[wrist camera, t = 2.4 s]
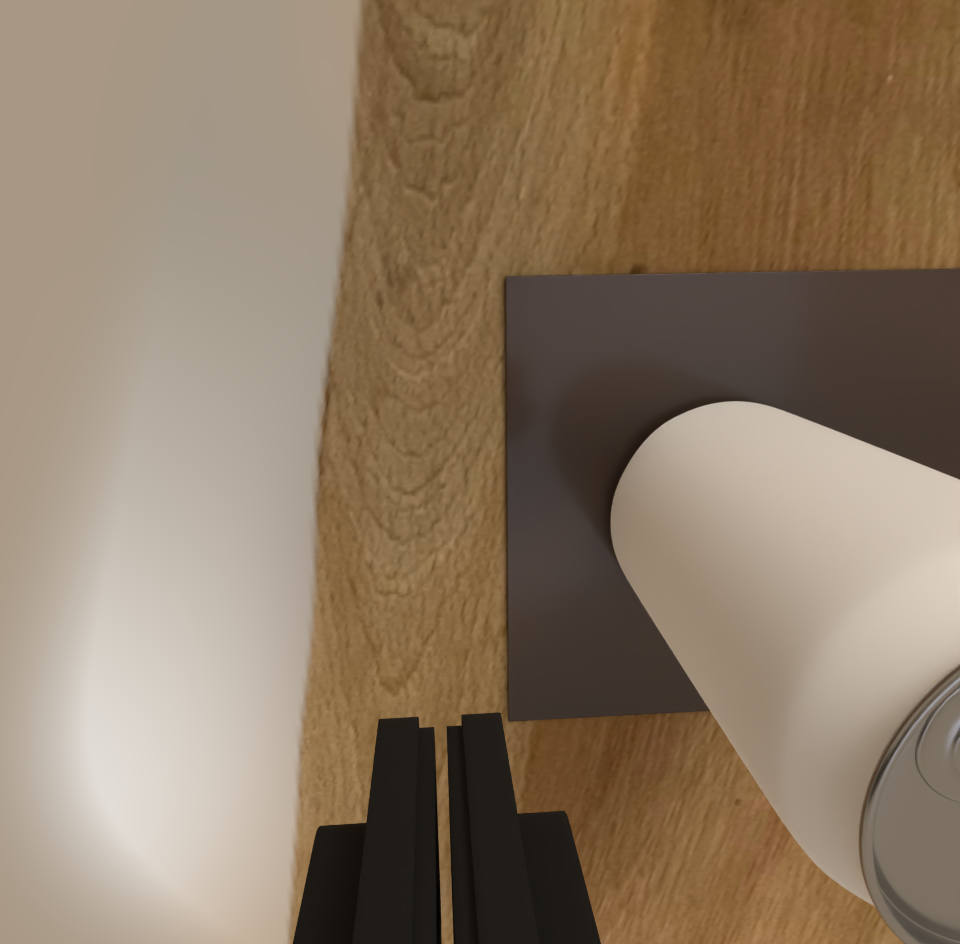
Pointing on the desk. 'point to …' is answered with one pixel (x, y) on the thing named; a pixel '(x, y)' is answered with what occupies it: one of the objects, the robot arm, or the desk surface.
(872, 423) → the runner
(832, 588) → the can
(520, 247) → the desk surface
